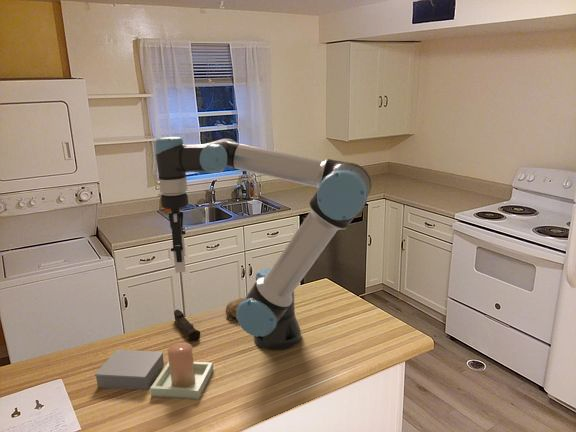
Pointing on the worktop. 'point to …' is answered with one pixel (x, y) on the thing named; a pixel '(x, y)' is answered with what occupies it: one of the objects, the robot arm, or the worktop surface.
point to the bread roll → (233, 309)
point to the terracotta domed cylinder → (181, 365)
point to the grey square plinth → (130, 369)
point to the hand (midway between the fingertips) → (180, 263)
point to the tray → (165, 388)
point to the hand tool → (186, 327)
